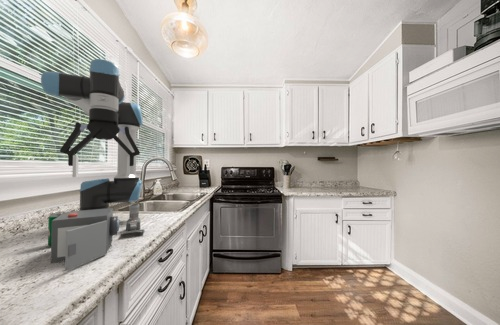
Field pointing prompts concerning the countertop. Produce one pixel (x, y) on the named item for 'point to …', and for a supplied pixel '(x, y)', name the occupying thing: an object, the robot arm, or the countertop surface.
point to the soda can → (50, 218)
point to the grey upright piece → (133, 220)
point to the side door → (85, 244)
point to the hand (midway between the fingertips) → (103, 176)
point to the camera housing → (75, 221)
